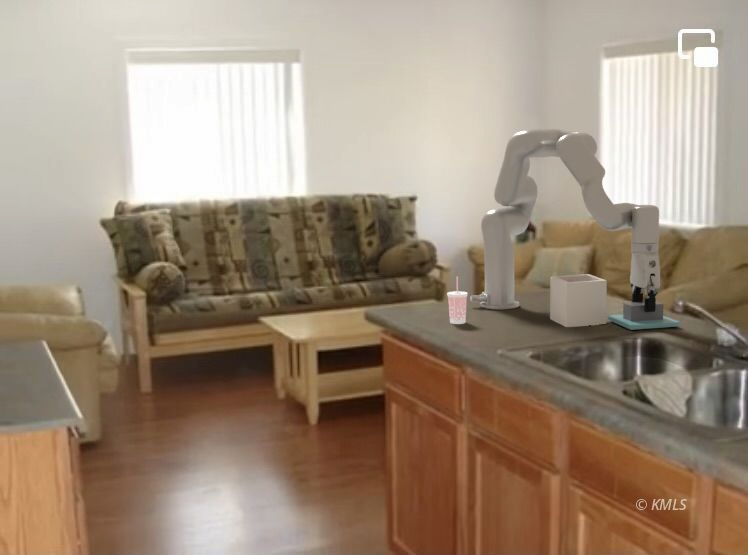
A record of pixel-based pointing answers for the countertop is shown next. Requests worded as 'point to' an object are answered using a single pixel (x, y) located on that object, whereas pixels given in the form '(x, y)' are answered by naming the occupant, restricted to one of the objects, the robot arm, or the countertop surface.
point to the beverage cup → (457, 305)
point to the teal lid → (642, 317)
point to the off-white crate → (578, 300)
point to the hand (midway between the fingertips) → (643, 308)
